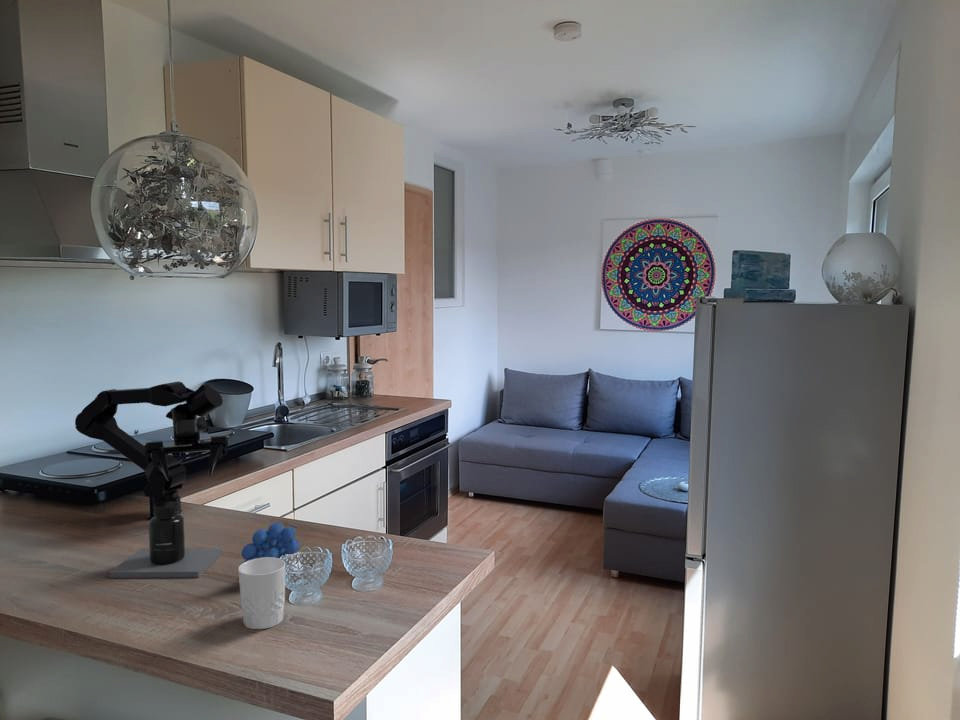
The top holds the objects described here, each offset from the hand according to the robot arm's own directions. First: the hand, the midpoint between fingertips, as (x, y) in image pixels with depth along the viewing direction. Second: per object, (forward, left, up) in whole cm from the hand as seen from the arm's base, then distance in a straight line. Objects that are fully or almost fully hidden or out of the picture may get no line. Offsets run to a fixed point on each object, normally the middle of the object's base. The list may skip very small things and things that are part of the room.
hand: (189, 478), depth 160 cm
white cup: (+31, -45, -14) cm, 56 cm away
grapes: (+27, -28, -14) cm, 41 cm away
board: (+3, -20, -14) cm, 24 cm away
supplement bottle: (+3, -20, -13) cm, 23 cm away
